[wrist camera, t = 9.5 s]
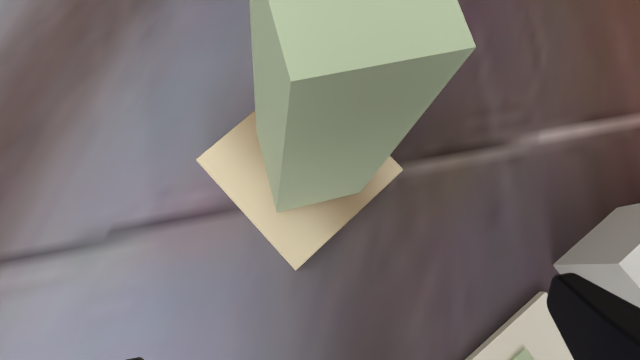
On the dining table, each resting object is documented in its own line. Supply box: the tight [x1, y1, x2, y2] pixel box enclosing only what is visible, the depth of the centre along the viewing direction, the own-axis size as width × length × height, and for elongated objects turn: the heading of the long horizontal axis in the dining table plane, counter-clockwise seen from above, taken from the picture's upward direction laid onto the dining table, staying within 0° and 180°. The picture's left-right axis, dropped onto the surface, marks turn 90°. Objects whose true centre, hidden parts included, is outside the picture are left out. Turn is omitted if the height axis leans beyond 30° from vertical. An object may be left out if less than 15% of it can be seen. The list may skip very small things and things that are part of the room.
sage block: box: [249, 0, 476, 212], centre depth 15 cm, size 4×4×12 cm
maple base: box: [196, 111, 403, 271], centre depth 23 cm, size 7×7×3 cm
